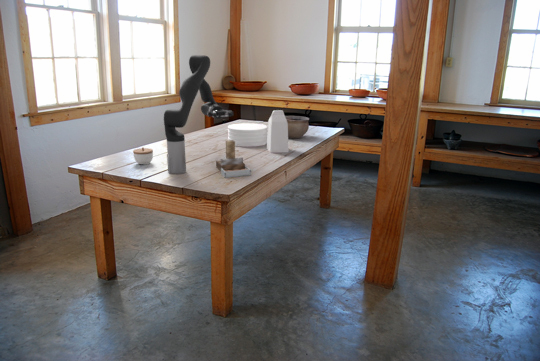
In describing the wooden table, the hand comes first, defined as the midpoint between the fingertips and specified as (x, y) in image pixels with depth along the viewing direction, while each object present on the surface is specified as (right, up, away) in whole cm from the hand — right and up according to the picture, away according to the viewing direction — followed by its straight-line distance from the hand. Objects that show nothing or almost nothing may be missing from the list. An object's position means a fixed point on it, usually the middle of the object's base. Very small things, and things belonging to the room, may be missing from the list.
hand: (223, 115), depth 239 cm
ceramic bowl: (+44, -4, +85) cm, 96 cm away
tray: (+8, -33, -12) cm, 36 cm away
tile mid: (+8, -31, -13) cm, 34 cm away
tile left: (+4, -31, -15) cm, 35 cm away
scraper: (+4, -26, -4) cm, 27 cm away
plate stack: (+10, -9, +67) cm, 68 cm away
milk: (+31, -17, +43) cm, 56 cm away
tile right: (+12, -30, -12) cm, 35 cm away
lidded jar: (-46, -27, +8) cm, 54 cm away
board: (+4, -30, -3) cm, 31 cm away
